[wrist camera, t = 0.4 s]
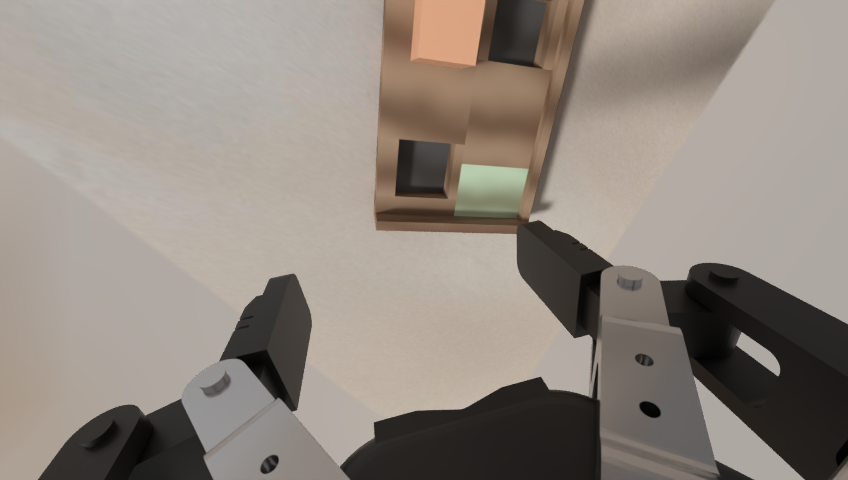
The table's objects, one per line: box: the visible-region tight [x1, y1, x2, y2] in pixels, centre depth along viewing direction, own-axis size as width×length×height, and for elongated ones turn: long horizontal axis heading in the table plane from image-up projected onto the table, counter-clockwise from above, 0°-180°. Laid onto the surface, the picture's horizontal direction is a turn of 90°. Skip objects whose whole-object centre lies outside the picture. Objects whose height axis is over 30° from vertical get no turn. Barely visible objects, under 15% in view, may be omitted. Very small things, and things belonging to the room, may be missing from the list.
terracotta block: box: [410, 0, 485, 69], centre depth 28 cm, size 5×5×4 cm
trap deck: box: [374, 0, 584, 234], centre depth 32 cm, size 28×18×5 cm, turn 174°
